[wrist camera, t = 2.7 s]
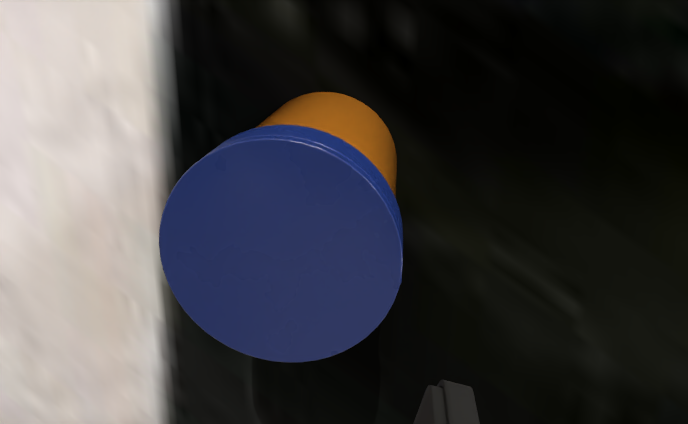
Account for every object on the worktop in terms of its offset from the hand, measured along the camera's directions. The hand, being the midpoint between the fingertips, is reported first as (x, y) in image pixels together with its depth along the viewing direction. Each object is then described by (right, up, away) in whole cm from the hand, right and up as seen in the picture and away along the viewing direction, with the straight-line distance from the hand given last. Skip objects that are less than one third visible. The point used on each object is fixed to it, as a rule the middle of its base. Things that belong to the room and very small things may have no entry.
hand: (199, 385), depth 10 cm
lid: (+1, +2, +5) cm, 6 cm away
